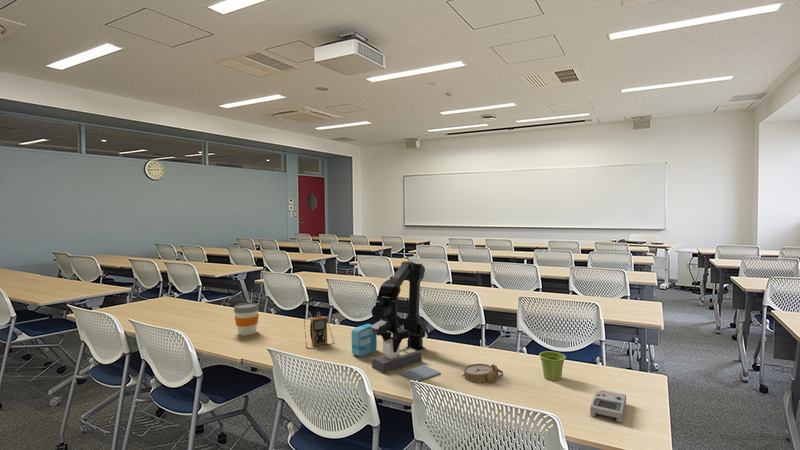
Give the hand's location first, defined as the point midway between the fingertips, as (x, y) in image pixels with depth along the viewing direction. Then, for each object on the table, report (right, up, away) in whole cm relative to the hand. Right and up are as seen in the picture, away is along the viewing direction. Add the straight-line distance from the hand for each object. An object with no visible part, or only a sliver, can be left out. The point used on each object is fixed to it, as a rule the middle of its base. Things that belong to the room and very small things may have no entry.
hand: (391, 350), depth 173 cm
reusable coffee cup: (-78, -6, +51) cm, 94 cm away
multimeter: (-34, -6, +27) cm, 44 cm away
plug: (0, -5, 0) cm, 5 cm away
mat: (+12, -7, -8) cm, 16 cm away
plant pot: (+62, -6, -15) cm, 64 cm away
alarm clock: (+36, -7, -13) cm, 39 cm away
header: (+3, -6, +2) cm, 7 cm away
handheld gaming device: (+70, -8, -40) cm, 81 cm away
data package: (-12, -6, +17) cm, 22 cm away
